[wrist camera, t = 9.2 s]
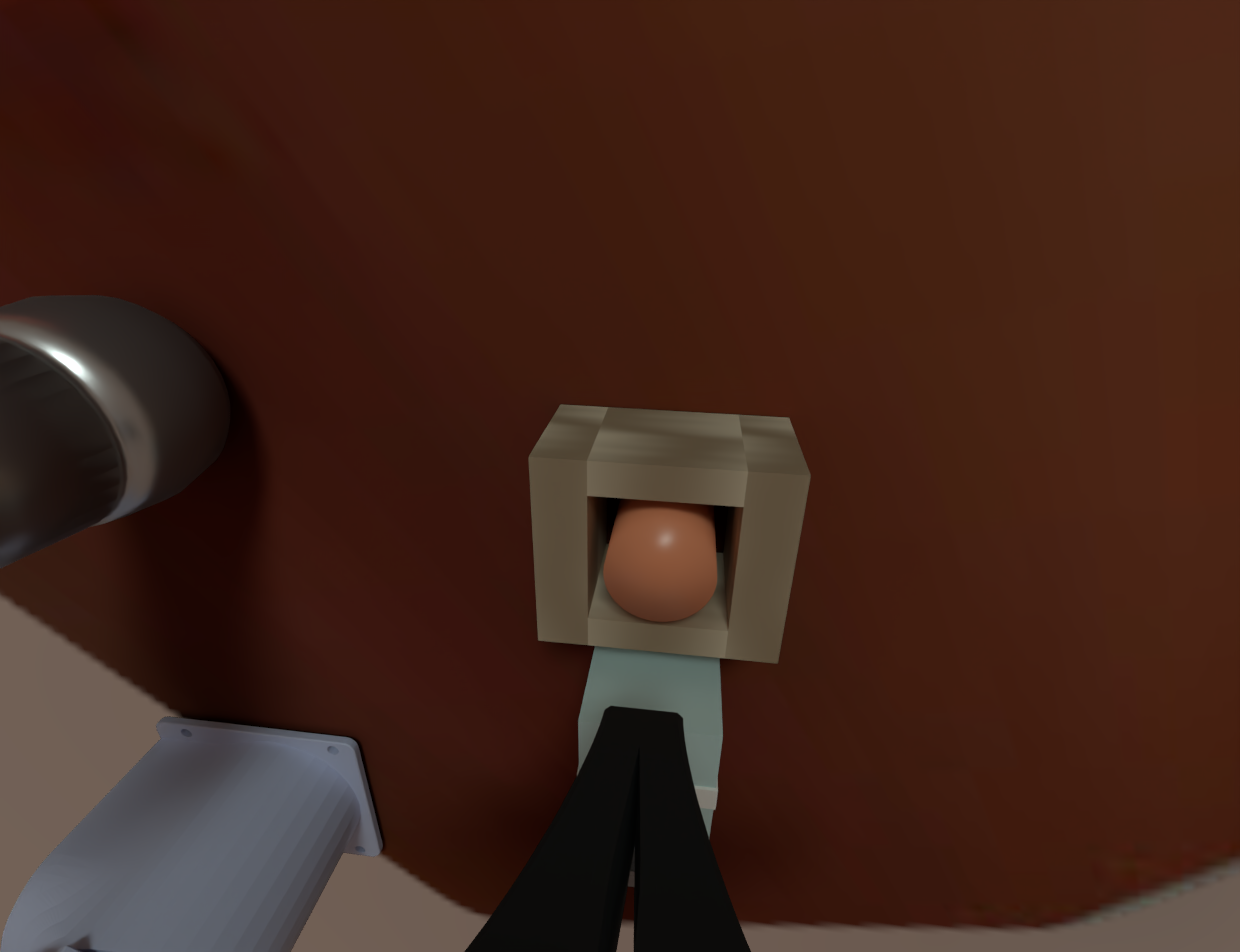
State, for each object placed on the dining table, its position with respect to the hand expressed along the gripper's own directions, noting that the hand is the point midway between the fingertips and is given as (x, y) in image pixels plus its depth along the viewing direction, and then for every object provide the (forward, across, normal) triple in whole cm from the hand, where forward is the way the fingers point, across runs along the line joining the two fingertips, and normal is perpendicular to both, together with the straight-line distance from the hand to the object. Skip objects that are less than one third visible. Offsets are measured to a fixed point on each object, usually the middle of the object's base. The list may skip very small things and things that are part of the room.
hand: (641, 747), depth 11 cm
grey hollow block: (+10, 0, 0) cm, 10 cm away
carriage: (+8, 0, +7) cm, 11 cm away
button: (+9, 0, 0) cm, 9 cm away
